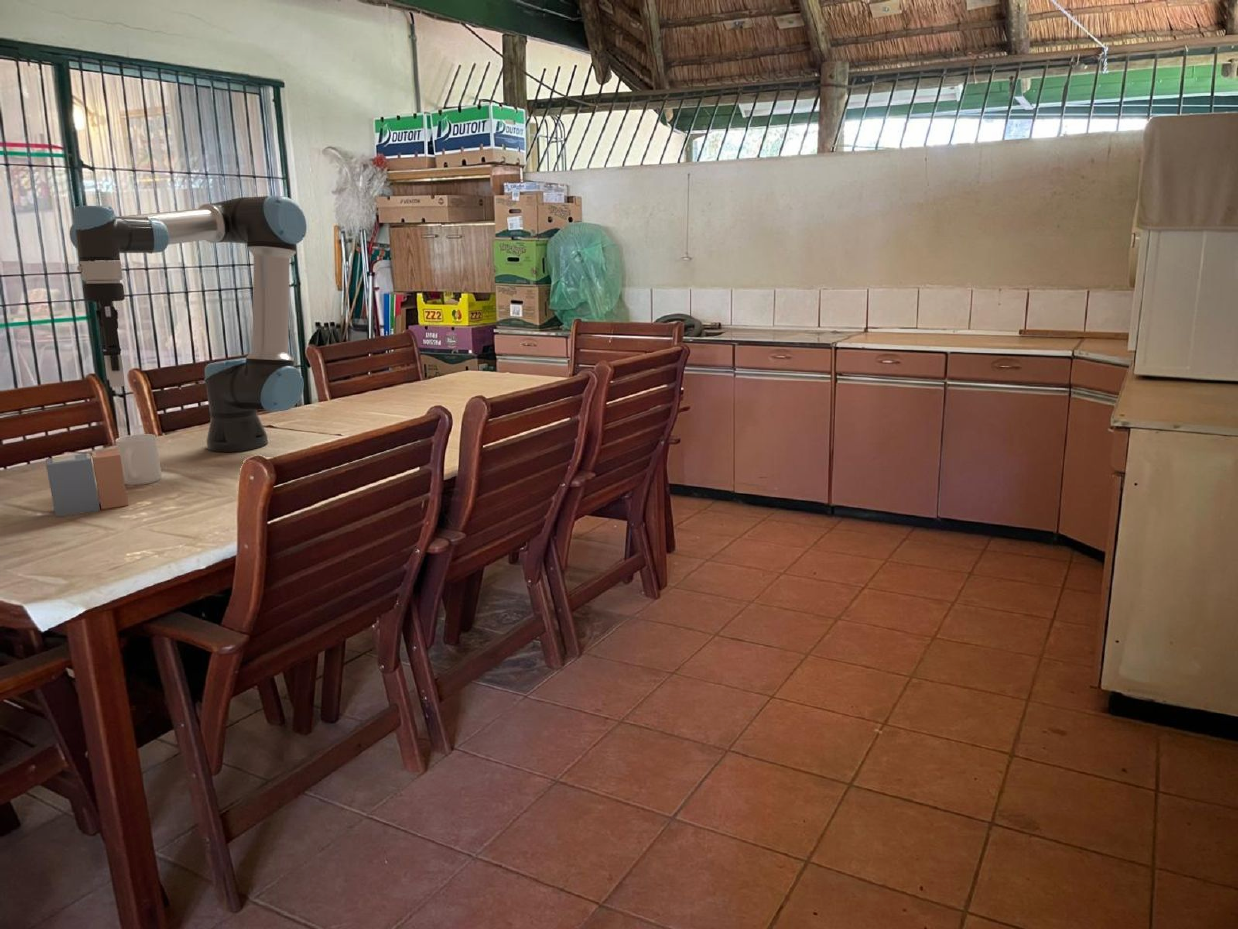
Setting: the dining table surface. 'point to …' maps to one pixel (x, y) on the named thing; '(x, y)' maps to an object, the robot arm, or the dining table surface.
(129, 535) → the dining table surface
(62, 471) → the toy oven block
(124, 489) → the stub
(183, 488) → the dining table surface
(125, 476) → the mug
